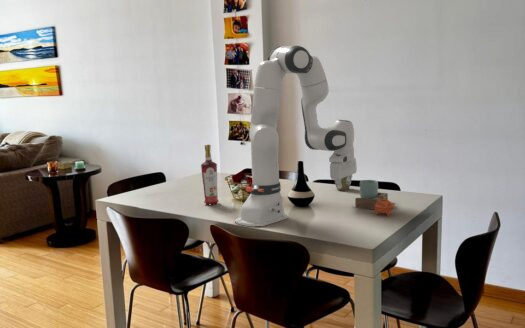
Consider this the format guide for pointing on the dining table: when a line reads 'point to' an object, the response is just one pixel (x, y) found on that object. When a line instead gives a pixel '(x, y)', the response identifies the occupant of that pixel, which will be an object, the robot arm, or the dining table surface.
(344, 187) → the squeeze bottle
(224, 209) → the dining table surface
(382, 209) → the orange rounded figure
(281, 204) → the robot arm
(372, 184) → the cup
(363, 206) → the dock
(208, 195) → the liquor
